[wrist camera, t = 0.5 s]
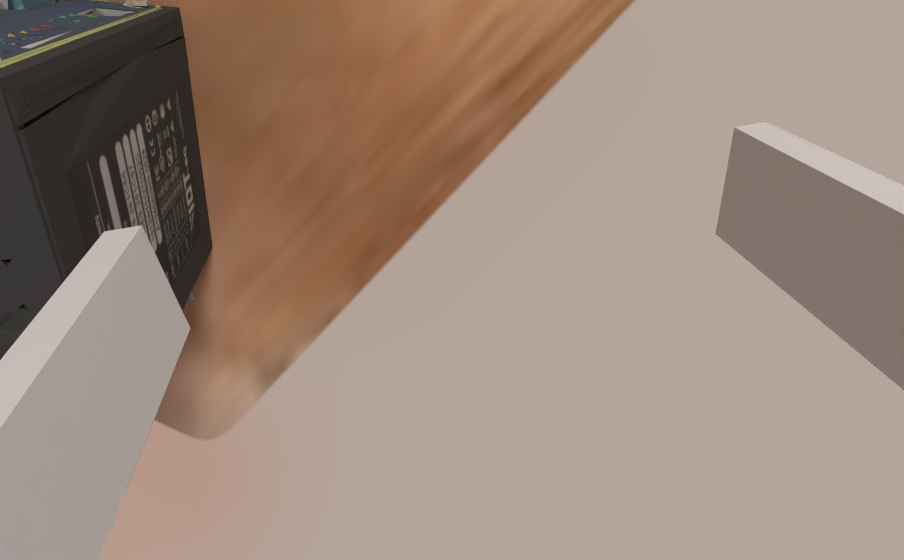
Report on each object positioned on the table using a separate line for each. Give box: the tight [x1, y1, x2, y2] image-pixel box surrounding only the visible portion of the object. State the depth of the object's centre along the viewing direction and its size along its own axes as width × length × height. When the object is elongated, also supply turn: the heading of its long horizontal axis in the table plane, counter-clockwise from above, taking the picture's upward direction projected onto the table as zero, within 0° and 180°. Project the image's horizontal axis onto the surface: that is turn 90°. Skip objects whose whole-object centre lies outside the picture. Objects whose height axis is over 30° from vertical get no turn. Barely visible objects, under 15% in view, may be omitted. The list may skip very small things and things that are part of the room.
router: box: [0, 0, 212, 360], centre depth 26 cm, size 8×18×20 cm, turn 174°
